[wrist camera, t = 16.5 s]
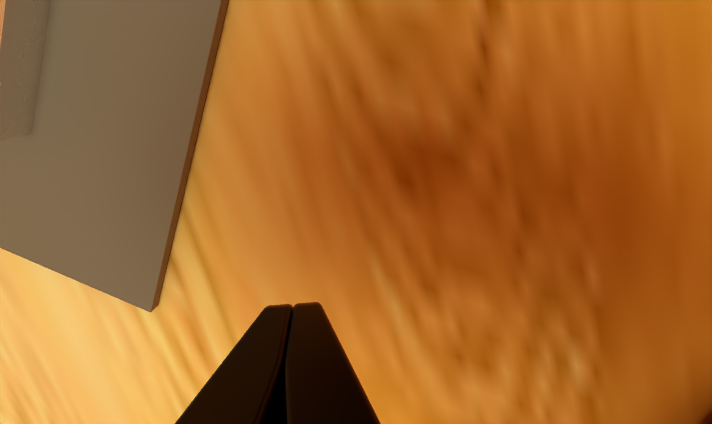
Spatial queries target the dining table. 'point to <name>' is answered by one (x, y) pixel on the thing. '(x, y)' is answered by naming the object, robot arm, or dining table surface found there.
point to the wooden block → (20, 62)
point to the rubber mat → (110, 141)
